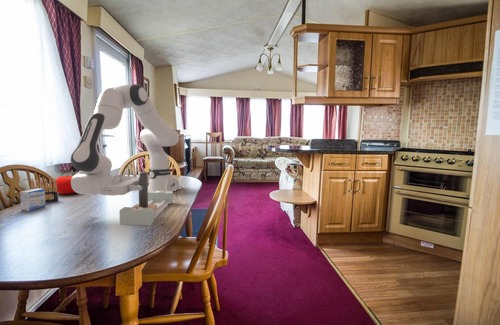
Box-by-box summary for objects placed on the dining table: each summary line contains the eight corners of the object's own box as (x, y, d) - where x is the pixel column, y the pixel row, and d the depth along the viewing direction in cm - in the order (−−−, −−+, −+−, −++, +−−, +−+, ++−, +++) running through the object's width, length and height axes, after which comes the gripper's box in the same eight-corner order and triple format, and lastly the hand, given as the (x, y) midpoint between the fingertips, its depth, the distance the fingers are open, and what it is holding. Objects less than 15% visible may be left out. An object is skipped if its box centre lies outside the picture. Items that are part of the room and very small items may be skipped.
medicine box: (28, 211, 117) (27, 192, 116) (20, 210, 118) (19, 191, 117) (45, 206, 125) (44, 188, 124) (38, 205, 126) (37, 187, 125)
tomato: (61, 190, 156) (60, 173, 155) (85, 190, 159) (85, 173, 158) (49, 196, 142) (48, 177, 141) (76, 195, 145) (75, 177, 144)
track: (150, 201, 139) (150, 189, 138) (173, 202, 139) (173, 190, 138) (119, 224, 105) (119, 209, 104) (150, 225, 105) (149, 209, 104)
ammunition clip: (31, 203, 129) (29, 179, 127) (31, 202, 130) (30, 178, 129) (57, 201, 134) (56, 178, 133) (58, 200, 136) (57, 177, 134)
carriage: (136, 208, 117) (136, 170, 115) (157, 209, 118) (156, 171, 116) (129, 214, 109) (128, 173, 107) (150, 214, 110) (150, 174, 108)
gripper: (99, 182, 101) (135, 183, 102) (123, 173, 121) (153, 174, 122) (99, 198, 102) (135, 199, 102) (123, 187, 122) (153, 188, 123)
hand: (145, 186), depth 112 cm, fingers open, 6 cm apart
